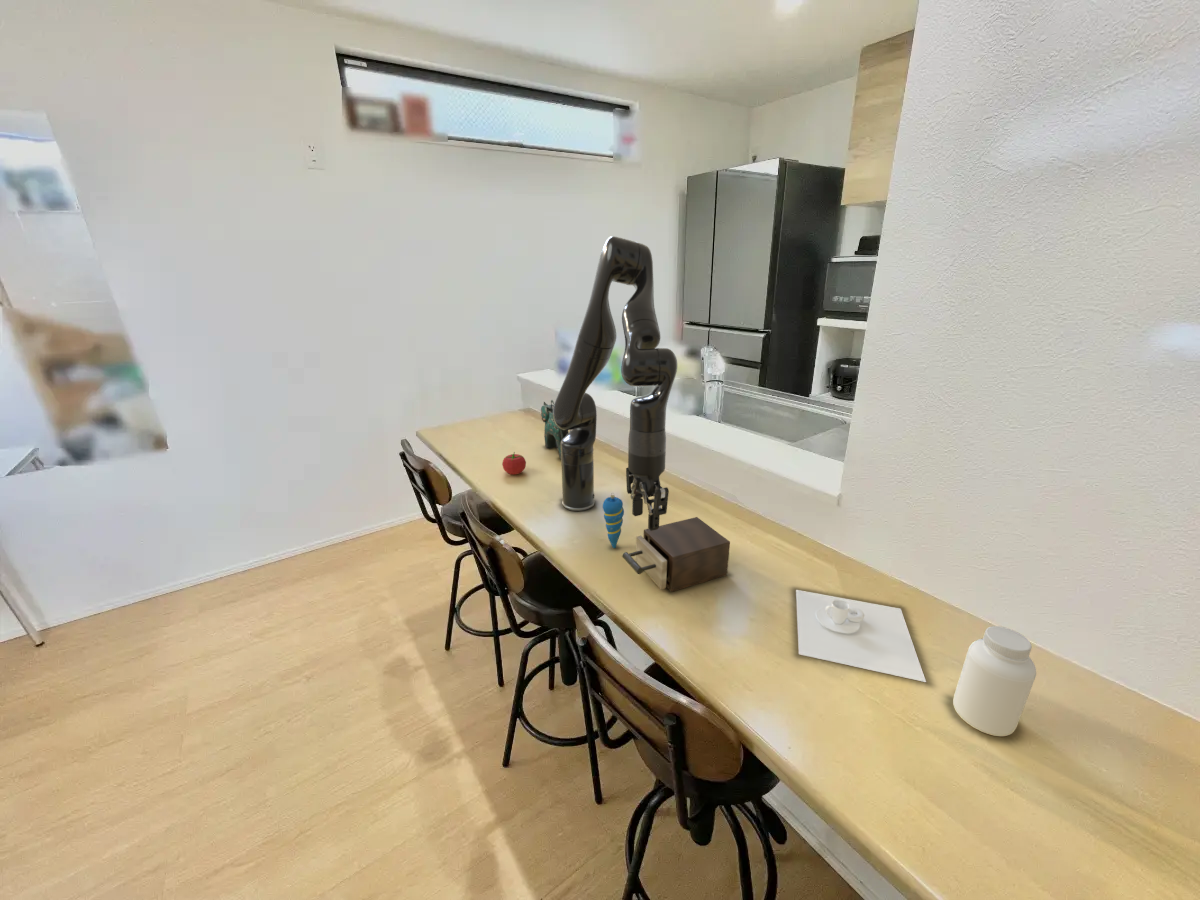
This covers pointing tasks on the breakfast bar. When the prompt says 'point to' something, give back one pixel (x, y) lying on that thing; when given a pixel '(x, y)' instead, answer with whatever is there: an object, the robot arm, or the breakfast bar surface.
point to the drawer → (650, 561)
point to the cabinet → (691, 552)
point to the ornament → (613, 518)
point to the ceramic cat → (551, 428)
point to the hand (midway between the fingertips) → (645, 521)
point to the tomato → (514, 464)
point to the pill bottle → (995, 681)
